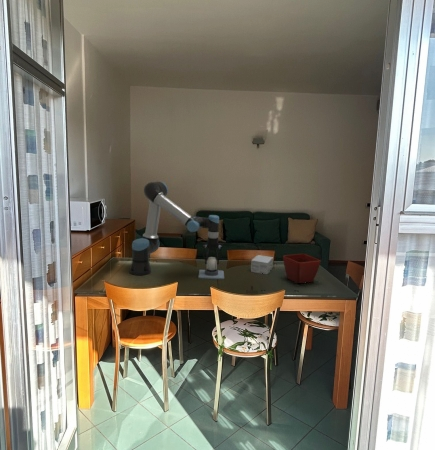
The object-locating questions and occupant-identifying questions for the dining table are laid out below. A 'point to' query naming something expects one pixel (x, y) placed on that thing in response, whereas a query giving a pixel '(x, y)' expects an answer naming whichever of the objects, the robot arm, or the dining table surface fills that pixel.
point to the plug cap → (211, 263)
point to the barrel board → (211, 274)
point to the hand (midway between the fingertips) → (211, 268)
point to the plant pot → (301, 267)
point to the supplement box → (261, 264)
